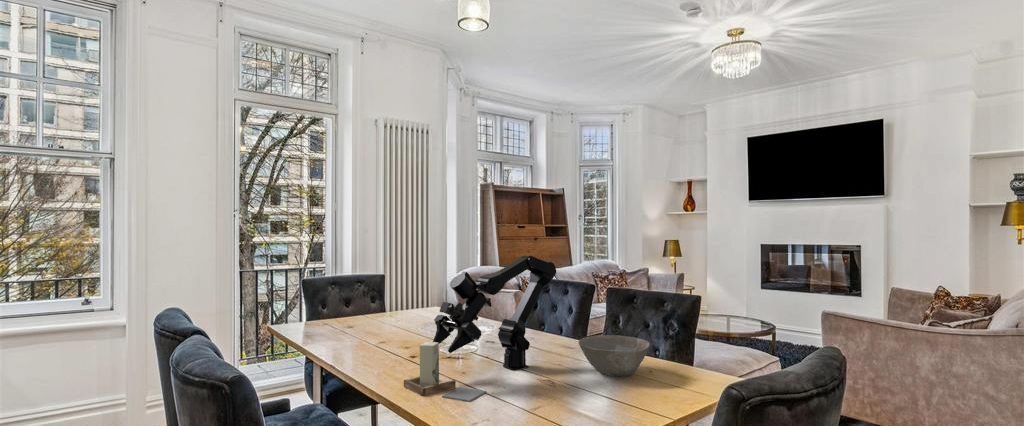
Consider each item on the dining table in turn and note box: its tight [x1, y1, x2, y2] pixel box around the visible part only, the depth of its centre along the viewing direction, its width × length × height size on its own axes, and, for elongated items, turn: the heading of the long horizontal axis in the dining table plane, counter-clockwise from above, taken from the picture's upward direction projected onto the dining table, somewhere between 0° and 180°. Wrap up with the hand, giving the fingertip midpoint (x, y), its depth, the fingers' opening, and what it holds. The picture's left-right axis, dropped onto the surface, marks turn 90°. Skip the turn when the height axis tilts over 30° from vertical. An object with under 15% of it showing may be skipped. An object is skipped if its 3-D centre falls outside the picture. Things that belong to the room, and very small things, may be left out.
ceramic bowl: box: [577, 334, 651, 377], centre depth 166 cm, size 22×23×10 cm
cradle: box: [403, 376, 457, 397], centre depth 154 cm, size 11×11×2 cm
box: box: [419, 341, 440, 387], centre depth 154 cm, size 5×4×13 cm
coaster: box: [441, 386, 487, 403], centre depth 147 cm, size 9×9×1 cm
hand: (440, 349), depth 156 cm, fingers open, 9 cm apart
